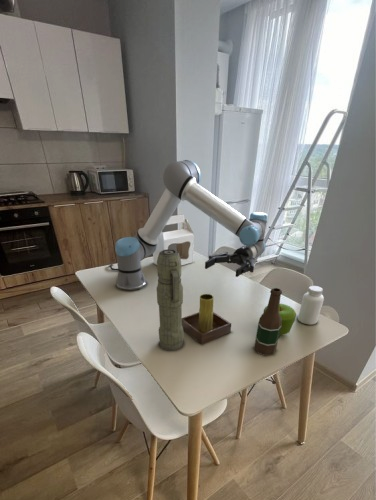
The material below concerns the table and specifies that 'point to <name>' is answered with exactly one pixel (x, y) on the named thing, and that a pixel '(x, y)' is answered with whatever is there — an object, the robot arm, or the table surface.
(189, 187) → the robot arm
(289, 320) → the apple
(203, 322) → the vase
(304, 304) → the pill bottle
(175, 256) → the thermos
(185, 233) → the gable box
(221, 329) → the tray
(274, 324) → the beer bottle
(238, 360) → the table surface
